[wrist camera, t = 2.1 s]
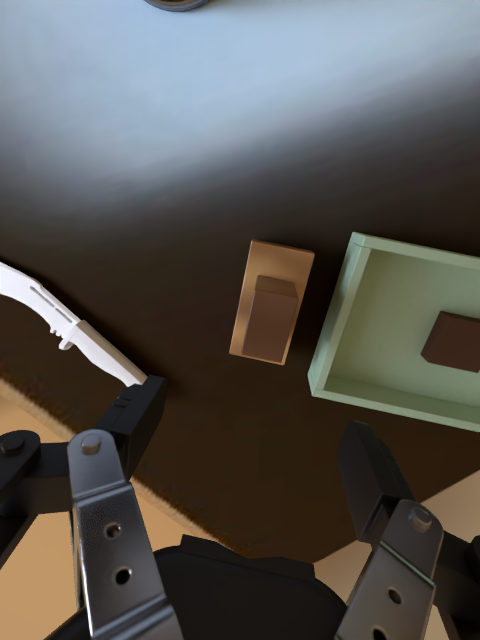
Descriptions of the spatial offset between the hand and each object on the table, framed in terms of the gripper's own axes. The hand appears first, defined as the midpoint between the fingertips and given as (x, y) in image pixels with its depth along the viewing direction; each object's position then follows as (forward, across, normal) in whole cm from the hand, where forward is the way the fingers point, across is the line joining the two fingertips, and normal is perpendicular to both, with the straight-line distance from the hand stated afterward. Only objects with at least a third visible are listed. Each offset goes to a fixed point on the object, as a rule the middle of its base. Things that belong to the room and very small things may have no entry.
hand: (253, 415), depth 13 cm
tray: (+16, -16, -1) cm, 23 cm away
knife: (+16, +23, +6) cm, 29 cm away
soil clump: (+16, -17, -1) cm, 23 cm away
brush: (+16, 0, -1) cm, 16 cm away
